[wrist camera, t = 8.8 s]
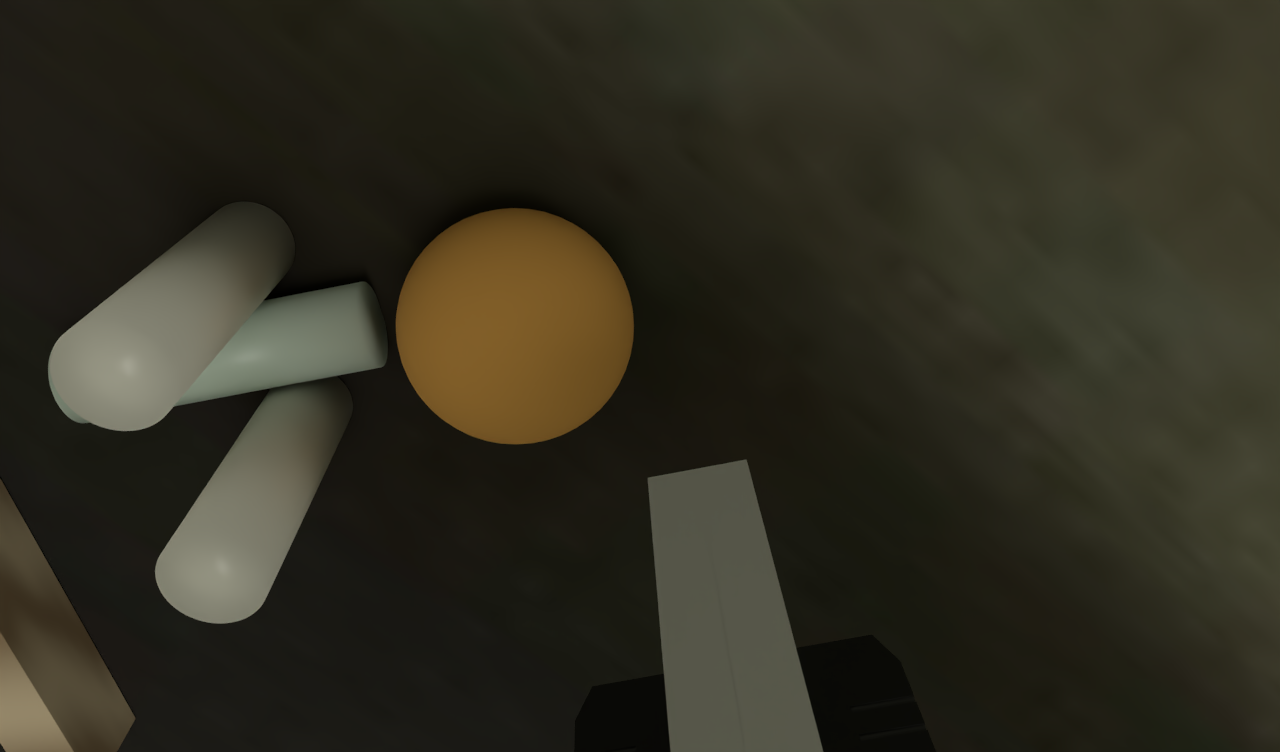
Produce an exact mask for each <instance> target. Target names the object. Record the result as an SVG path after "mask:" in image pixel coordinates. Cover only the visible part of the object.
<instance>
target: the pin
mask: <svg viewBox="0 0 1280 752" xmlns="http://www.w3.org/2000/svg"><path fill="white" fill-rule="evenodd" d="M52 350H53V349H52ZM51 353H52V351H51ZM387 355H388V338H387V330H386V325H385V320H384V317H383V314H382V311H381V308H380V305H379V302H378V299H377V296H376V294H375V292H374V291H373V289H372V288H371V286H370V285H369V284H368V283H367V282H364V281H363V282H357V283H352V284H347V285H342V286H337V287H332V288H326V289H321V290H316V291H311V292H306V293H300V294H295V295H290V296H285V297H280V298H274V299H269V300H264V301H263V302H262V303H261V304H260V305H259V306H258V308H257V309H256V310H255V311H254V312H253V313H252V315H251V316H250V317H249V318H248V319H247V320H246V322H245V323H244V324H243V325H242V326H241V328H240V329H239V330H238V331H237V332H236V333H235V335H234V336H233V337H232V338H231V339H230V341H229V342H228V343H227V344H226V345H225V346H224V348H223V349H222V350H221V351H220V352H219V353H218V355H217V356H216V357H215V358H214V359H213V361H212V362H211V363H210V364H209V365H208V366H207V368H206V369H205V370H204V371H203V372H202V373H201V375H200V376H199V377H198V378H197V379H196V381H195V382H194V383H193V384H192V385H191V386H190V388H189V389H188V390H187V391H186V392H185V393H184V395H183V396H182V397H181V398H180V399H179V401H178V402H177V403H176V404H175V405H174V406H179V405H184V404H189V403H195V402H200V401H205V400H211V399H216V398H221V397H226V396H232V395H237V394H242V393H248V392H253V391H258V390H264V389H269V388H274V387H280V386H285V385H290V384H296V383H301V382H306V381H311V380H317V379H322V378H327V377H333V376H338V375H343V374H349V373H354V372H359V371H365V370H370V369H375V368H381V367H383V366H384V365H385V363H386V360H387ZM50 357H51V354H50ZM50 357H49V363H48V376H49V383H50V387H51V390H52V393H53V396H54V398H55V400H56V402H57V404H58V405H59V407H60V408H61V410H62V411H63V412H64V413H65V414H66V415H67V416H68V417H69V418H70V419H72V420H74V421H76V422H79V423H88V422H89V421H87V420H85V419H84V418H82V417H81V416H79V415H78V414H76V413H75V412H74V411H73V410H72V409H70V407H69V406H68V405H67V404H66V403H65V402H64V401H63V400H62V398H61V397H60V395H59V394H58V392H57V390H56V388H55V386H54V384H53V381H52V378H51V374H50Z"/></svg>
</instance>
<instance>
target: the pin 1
mask: <svg viewBox="0 0 1280 752" xmlns="http://www.w3.org/2000/svg"><path fill="white" fill-rule="evenodd" d="M294 258H295V241H294V237H293V234H292V232H291V230H290V228H289V227H288V225H287V224H286V222H285V221H284V220H283V219H282V218H281V217H280V216H279V215H278V214H277V213H276V212H274V211H273V210H271V209H270V208H268V207H266V206H264V205H261V204H258V203H254V202H247V201H240V202H234V203H230V204H228V205H225V206H223V207H222V208H220V209H219V210H218V211H216V212H215V213H214V214H213V215H211V216H210V217H209V218H208V219H206V220H205V221H204V222H203V223H201V224H200V225H199V226H198V227H196V228H195V229H194V230H193V231H191V232H190V233H189V234H188V235H186V236H185V237H184V238H183V239H181V240H180V241H179V242H178V243H176V244H175V245H174V246H173V247H171V248H170V249H169V250H168V251H166V252H165V253H164V254H163V255H161V256H160V257H159V258H158V259H156V260H155V261H154V262H153V263H151V264H150V265H149V266H148V267H146V268H145V269H144V270H143V271H141V272H140V273H139V274H138V275H136V276H135V277H134V278H133V279H131V280H130V281H129V282H128V283H126V284H125V285H124V286H123V287H121V288H120V289H119V290H118V291H116V292H115V293H114V294H113V295H111V296H110V297H109V298H108V299H106V300H105V301H104V302H103V303H101V304H100V305H99V306H98V307H96V308H95V309H94V310H93V311H91V312H90V313H89V314H88V315H86V316H85V317H84V318H83V319H81V320H80V321H79V322H78V323H76V324H75V325H74V326H73V327H71V328H70V329H69V330H68V331H66V332H65V333H64V334H63V335H62V336H61V337H60V338H59V339H58V340H57V342H56V344H55V345H54V347H53V350H52V353H51V357H50V374H51V378H52V381H53V384H54V386H55V388H56V390H57V392H58V394H59V395H60V397H61V398H62V400H63V401H64V402H65V403H66V404H67V405H68V406H69V407H70V409H72V410H73V411H74V412H75V413H76V414H78V415H79V416H81V417H82V418H84V419H85V420H87V421H89V422H91V423H93V424H95V425H98V426H100V427H104V428H107V429H111V430H118V431H134V430H140V429H144V428H147V427H150V426H152V425H154V424H156V423H157V422H159V421H160V420H161V419H163V418H164V417H165V416H166V415H167V413H168V412H169V411H170V410H171V409H172V408H173V406H174V405H175V404H176V403H177V402H178V401H179V399H180V398H181V397H182V396H183V395H184V393H185V392H186V391H187V390H188V389H189V388H190V386H191V385H192V384H193V383H194V382H195V381H196V379H197V378H198V377H199V376H200V375H201V373H202V372H203V371H204V370H205V369H206V368H207V366H208V365H209V364H210V363H211V362H212V361H213V359H214V358H215V357H216V356H217V355H218V353H219V352H220V351H221V350H222V349H223V348H224V346H225V345H226V344H227V343H228V342H229V341H230V339H231V338H232V337H233V336H234V335H235V333H236V332H237V331H238V330H239V329H240V328H241V326H242V325H243V324H244V323H245V322H246V320H247V319H248V318H249V317H250V316H251V315H252V313H253V312H254V311H255V310H256V309H257V308H258V306H259V305H260V304H261V303H262V302H263V300H264V299H265V298H266V297H267V296H268V295H269V293H270V292H271V291H272V290H273V289H274V288H275V286H276V285H277V284H278V283H279V282H280V280H281V279H282V278H283V277H284V276H285V275H286V273H287V272H288V271H289V269H290V268H291V266H292V264H293V262H294Z"/></svg>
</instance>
